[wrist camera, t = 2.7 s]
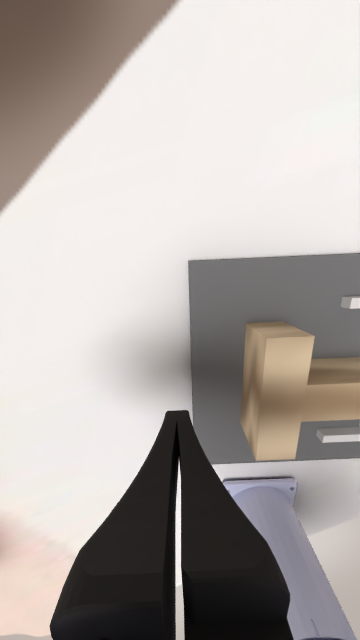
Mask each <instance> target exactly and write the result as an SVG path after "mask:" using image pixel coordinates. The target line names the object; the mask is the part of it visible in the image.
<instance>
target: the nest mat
mask: <svg viewBox="0 0 360 640" xmlns="http://www.w3.org/2000/svg"><path fill="white" fill-rule="evenodd" d="M188 265H189V299H190V333H191V368H192V402H193V428H194V431H195V433H196V436H197V438H198V440H199V442H200V445H201V447H202V449H203V451H204V453H205V455H206V456H207V458H208V460H209V462H210V464H231V463H255V462H279V461H303V460H327V459H351V458H360V419H354V420H330V421H306V422H301V425H300V432H299V438H298V444H297V450H296V457H295V459H287V460H264V461H256V460H255V457H254V455H253V452H252V450H251V448H250V445H249V443H248V440H247V438H246V436H245V433H244V431H243V428H242V426H241V405H242V387H243V368H244V350H245V331H246V323H258V322H281V321H283V322H285V323H287V324H289V325H292V326H294V327H296V328H298V329H300V330H302V331H305V332H307V333H309V334H311V335H313V336H315V338H314V344H313V350H312V357H311V359H325V358H348V357H360V253H356V254H333V255H311V256H288V257H266V258H243V259H221V260H198V261H188Z"/></svg>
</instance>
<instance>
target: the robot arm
mask: <svg viewBox="0 0 360 640" xmlns="http://www.w3.org/2000/svg"><path fill="white" fill-rule="evenodd" d="M179 461H180V472H181V570H182V585H183V599H184V629H185V630H184V631H185V640H357V638H356V636H355V634H354V632H353V630H352V628H351V626H350V624H349V622H348V620H347V618H346V616H345V614H344V612H343V610H342V607H341V606H340V604H339V601H338V599H337V597H336V595H335V593H334V591H333V589H332V587H331V585H330V583H329V581H328V579H327V577H326V575H325V573H324V571H323V569H322V566H321V565H320V563H319V560H318V559H317V556H316V554H315V552H314V550H313V548H312V546H311V544H310V542H309V540H308V538H307V536H306V534H305V532H304V530H303V528H302V526H301V523H300V521H299V519H298V517H297V515H296V513H295V511H294V509H293V505H294V499H295V494H296V488H297V483H296V481H295V480H294V479H292V478H287V479H263V480H239V481H225V482H224V483H222V482H221V480H220V479H219V477H218V475H217V474H216V472H215V470H214V469H213V467H212V465H211V464H210V462H209V460H208V458H207V456H206V455H205V453H204V451H203V449H202V447H201V445H200V442H199V440H198V438H197V436H196V433H195V431H194V428H193V426H192V423H191V420H190V416H189V412H188V411H187V410H180V411H167V412H166V414H165V418H164V421H163V424H162V426H161V429H160V431H159V434H158V436H157V438H156V441H155V443H154V445H153V447H152V449H151V451H150V453H149V455H148V457H147V458H146V460H145V462H144V464H143V466H142V467H141V469H140V471H139V472H138V474H137V476H136V477H135V479H134V480H133V482H132V483H131V485H130V486H129V488H128V489H127V491H126V492H125V494H124V495H123V497H122V498H121V499H120V501H119V502H118V503H117V505H116V506H115V508H114V509H113V510H112V512H111V513H110V514H109V516H108V517H107V518H106V519H105V521H104V522H103V523H102V524H101V526H100V527H99V528H98V529H97V530H96V532H95V533H94V534H93V535H92V536H91V538H90V539H89V540H88V541H87V542H86V544H85V545H84V546H83V547H82V548H81V550H80V551H79V553H78V555H77V557H76V559H75V561H74V564H73V566H72V568H71V570H70V572H69V575H68V577H67V579H66V581H65V584H64V586H63V589H62V592H61V595H60V597H59V600H58V603H57V606H56V609H55V612H54V614H53V617H52V620H51V623H50V631H51V636H52V638H53V640H176V634H175V633H176V631H175V630H176V625H175V624H176V623H175V511H176V493H177V478H178V463H179Z"/></svg>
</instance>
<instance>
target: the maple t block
mask: <svg viewBox="0 0 360 640" xmlns="http://www.w3.org/2000/svg"><path fill="white" fill-rule="evenodd" d="M314 338H315V336H313V335H311V334H309V333H307V332H305V331H302V330H300V329H298V328H296V327H294V326H292V325H289V324H287V323H285V322H283V321H281V322H258V323H246V331H245V350H244V368H243V387H242V405H241V426H242V428H243V431H244V433H245V436H246V438H247V440H248V443H249V445H250V448H251V450H252V452H253V455H254V457H255V460H256V461H264V460H287V459H295V457H296V450H297V444H298V438H299V432H300V425H301V422H306V421H330V420H354V419H360V357H348V358H325V359H311V357H312V350H313V344H314Z"/></svg>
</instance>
